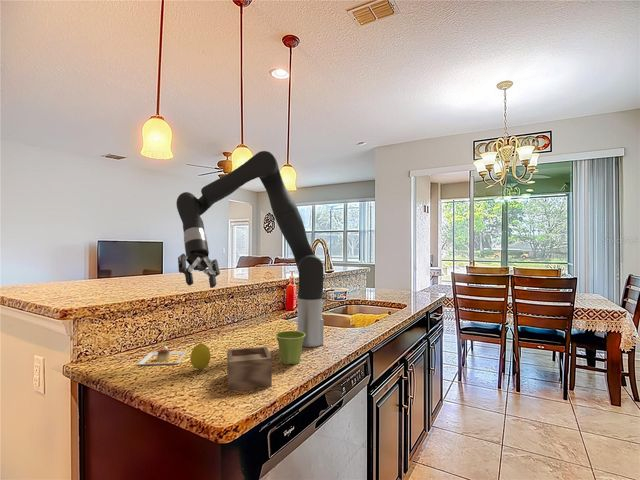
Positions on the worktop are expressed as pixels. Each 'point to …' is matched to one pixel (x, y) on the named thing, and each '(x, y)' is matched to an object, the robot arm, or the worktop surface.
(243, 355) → the wooden box
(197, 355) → the lemon
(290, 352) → the plant pot
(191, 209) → the robot arm
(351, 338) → the worktop surface
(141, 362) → the white square frame
